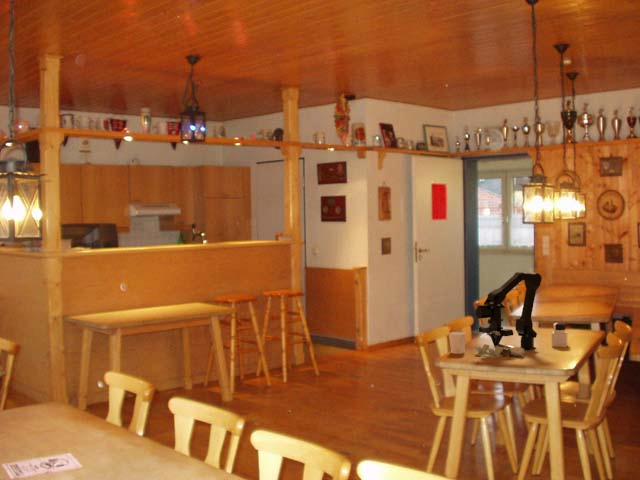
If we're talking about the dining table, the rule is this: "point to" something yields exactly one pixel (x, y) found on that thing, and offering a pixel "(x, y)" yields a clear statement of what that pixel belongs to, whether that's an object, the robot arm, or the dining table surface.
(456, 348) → the white cup
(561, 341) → the medicine bottle
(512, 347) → the brown rounded bar
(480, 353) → the cradle
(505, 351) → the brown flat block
